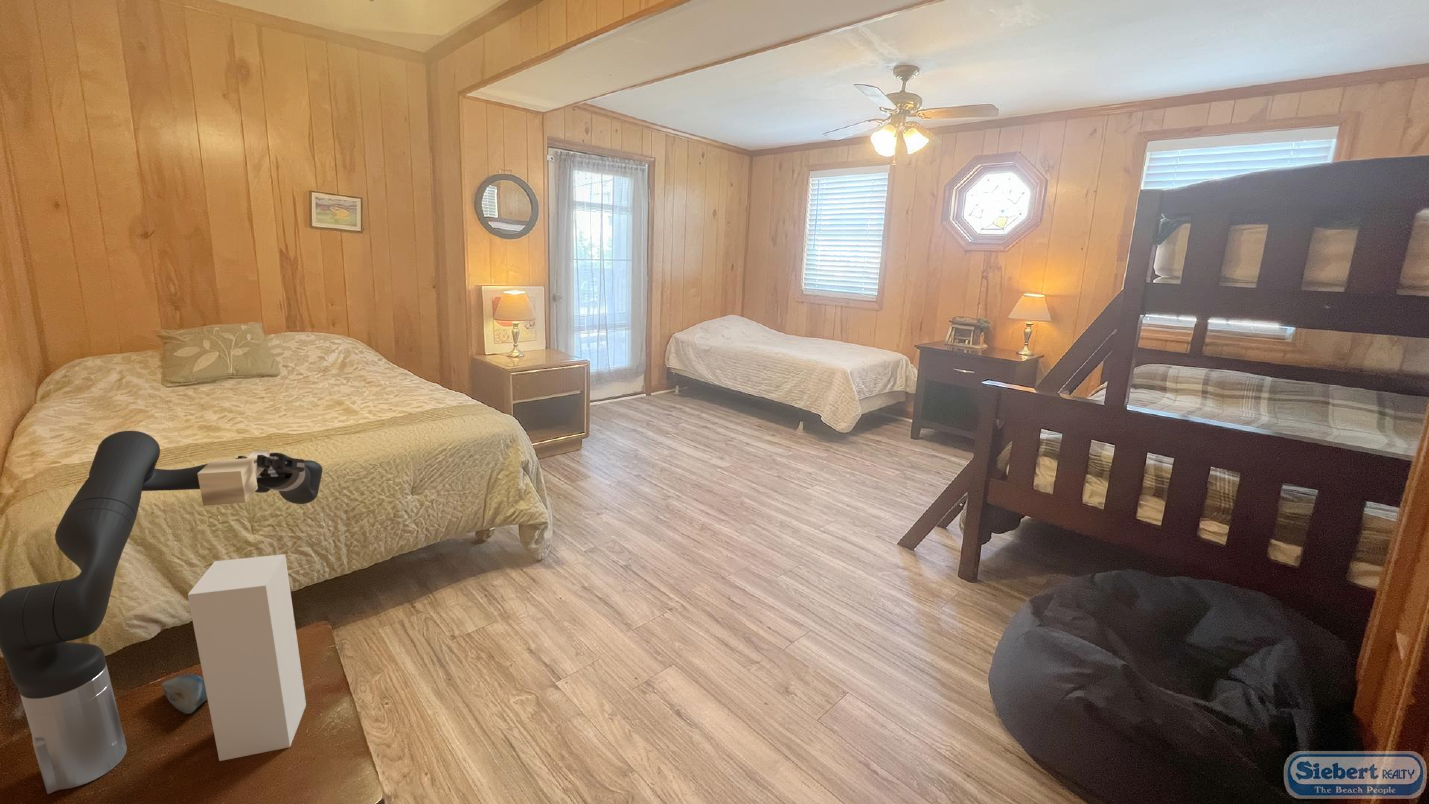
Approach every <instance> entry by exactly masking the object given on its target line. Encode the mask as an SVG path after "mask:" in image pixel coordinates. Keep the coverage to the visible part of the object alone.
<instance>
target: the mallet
mask: <svg viewBox="0 0 1429 804" xmlns="http://www.w3.org/2000/svg"><path fill="white" fill-rule="evenodd" d="M270 453H271V452H270V450H269V449H262V450H261V449H260V450H259V449H258V450H253V451H252V452H251V453H250V454H249V455H248V456H247V457H248V458H245V459H236V458H230V459H229V458H228V459H227V458H225V459H212V460H211V461H210V462H208V463H209V464H208V463H206V464H207V465H206V466H205V467H204V468H203V469H202V470H201V471H200V472H199V473H197V474H198V480H199V485H200V489H199V490H200V494H201V495H200V497H201V500H202V505H203V507H205V506H206V507H207V506H219V505H221V506H222V505H231V504H232V505H234V504H245V503H247V502H248V501H249V500H250V498H252V496H253V494H254V493H256V492H255V491H256V490H257V489H258V486H257V480H256V477H257V476H258V475H259V474H260V473H261V472H262V471H263V470H264V468H261V467H259V466H257V455H264V456H266V457H270Z"/></svg>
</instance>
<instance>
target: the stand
mask: <svg viewBox="0 0 1429 804" xmlns="http://www.w3.org/2000/svg"><path fill="white" fill-rule="evenodd" d="M211 564H212V565H211V566H210V567H209V568H208V569H207V570H206V571H205V572H204V574H203V575H202V576H201V578H200V579H199V580H198V581H197V582H196V584H195V585H194V586H193V587H192V588H191V590H190V591H189V592H188V594H187V599H188V603H189V609H190V614H191V619H192V624H193V629H194V635H195V640H196V645H197V651H198V657H199V661H200V667H201V672H202V678H203V679H204V683H205V688H206V694H207V704H208V708H209V713H210V714H209V715H210V719H211V724H212V730H213V734H214V740H215V745H216V750H217V755H218V761H219V762H221V761H226V760H233V759H236V758H237V759H238V758H242V757H247V756H252V755H257V754H262V753H266V752H272V751H278V750H283V749H287V748H291V746H292V742H293V741H294V738H295V735H296V733H297V730H298V728H299V725H300V723H301V720H302V717H303V715H304V711H305V709H306V707H307V701H306V695H305V687H304V680H303V679H304V678H303V672H302V666H301V665H302V664H301V659H300V652H299V651H300V650H299V644H298V643H299V642H298V636H297V629H296V621H295V615H294V607H293V602H292V601H293V600H292V592H291V585H290V578H289V572H288V564H287V556H286V554H285V553H284V554H273V555H272V554H271V555H264V556H254V557H245V558H244V557H243V558H242V557H241V558H234V559H225V560H224V559H223V560H222V559H221V560H215V561H214V562H213V563H211Z"/></svg>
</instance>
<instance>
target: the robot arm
mask: <svg viewBox="0 0 1429 804" xmlns="http://www.w3.org/2000/svg"><path fill="white" fill-rule="evenodd" d="M269 453H270V457H266V456H264V455H257V466H259V467H261V468H264V470H263V471H262V472H261V473H260V474H259V475H258V476H257V477H256V480H257V486H258V489H257V490H256V491H255V492H254V493H258V494H259V493H260V494H261V493H264V494H265V493H267V492H268V493H269V492H270V491H271V490H273V491H276V492H278V493H279V494H280V496H281V497H282V498H283V499H284V500H285V501H287V502H289V503H292V504H296V505H305V504H309V503H312V502H313V501H314V500H316V499H317V497H318V494H319V490H320V487H321V486H320V485H321V481H322V480H321V479H322V476H323V471H324V470H323V469H324V468H323V466H322V465H321V464H320V463H319V462H318V461H315V460H310V459H306V460H305V459H303V458H295V457H291V456H289V455H287V454H284V453H283V452H282V453H281V452H269ZM160 455H161V449H160V445H159V443H158V441H157V440H156V439H155V437H153V436H152V435H151V434H150V435H149V434H147V433H146V432H143V431H138V430H122V431H117V432H115V433H112V434H109V435H108V436H106V437H105V438H104V439H102V440H101V442H100V443H99V445H98V446H97V448H96V451H95V455H94V458H93V459H92V463H91V465H90V469H89V472H88V477H87V479H85V481H84V482H83V484H82V485H81V487H80V488H79V490H78V492H77V493H76V494H75V496H74V497H73V499H72V501H70V503H69V505H68V507H67V509H66V510H65V512H64V514H63V516H62V517H61V520H60V521H59V522H58V525H57V527H56V529H55V535H54V540H55V543H56V545H57V548H58V549H59V550H60V552H61V553H63V555H64V556H65V557H66V558H67V559H69V560H70V561H71V562H72V563H73V564H75V565H76V566H77V567H78V569H79V570H80V573H78V575H77V576H75V577H72V578H69V579H63V580H57V581H51V582H45V583H39V584H32V585H27V586H21V587H16V588H13V589H11V590H8V591H6V592H5V593H3V594H2V595H1V596H0V651H1V654H2V656H3V659H4V661H5V663H6V667H7V669H8V672H9V674H10V678H11V680H12V682H13V683H14V685H15V686H16V687H17V688H18V693H19V695H20V698H21V702H22V705H23V708H24V709H23V710H24V713H25V716H26V719H27V723H28V727H29V730H30V733H31V738H32V745H33V746H32V747H33V750H34V753H35V754H34V755H35V758H36V761H37V764H38V767H39V771H40V774H41V777H42V781H43V784H44V788H45V790H46V794H48V795H49V794H52V793H54V792H57V791H60V790H67V789H69V790H70V789H73V788H76V787H80V786H82V785H86V784H88V783H90V782H92V781H95V780H97V779H98V778H100V777H102V776H104V775H106V774H108V772H110V771H112V770H113V769H114V768H115V767H116V766H117V765H118V764H120V763H121V762H122V760H124V758H125V756H126V753H127V750H128V748H127V743H126V738H125V734H124V730H123V727H122V722H121V719H120V714H119V710H118V706H117V702H116V698H115V694H114V690H113V685H112V682H111V677H110V673H109V669H108V665H107V661H106V660H107V659H106V656H105V653H104V651H103V649H102V648H101V646H98V645H96V644H92V643H85V642H84V643H83V642H70V641H75V640H79V639H82V638H86V637H88V636H90V635H92V634H93V633H95V632H96V631H97V630H98V629H99V627H101V625H102V623H103V622H104V620H105V616H106V614H107V613H106V612H107V609H108V606H109V602H110V598H111V593H112V589H113V586H114V585H113V584H114V579H115V576H116V571H117V569H118V565H119V562H120V560H121V557H122V553H123V551H124V549H125V547H126V545H127V542H128V540H129V538H130V536H131V534H132V530H133V529H134V525H135V522H136V520H137V515H138V511H139V508H140V505H141V504H140V503H141V498H142V492H155V491H156V492H157V491H158V492H159V491H161V492H162V491H184V490H186V491H187V490H188V491H189V490H190V491H191V490H200V485H199V480H198V474H197V473H199V472H200V471H201V470H202V469H203V468H204V467H205V466H206V465H207V464H209V463H210V462H208V463H205V464H201V465H196V466H195V465H194V466H192V467H186V468H178V469H177V468H176V469H165V468H164V469H163V468H156V465H157V464H158V460H159V459H160ZM245 458H248V456H245V455H238V456H237V457H235V459H245Z"/></svg>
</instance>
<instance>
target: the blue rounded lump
mask: <svg viewBox="0 0 1429 804" xmlns="http://www.w3.org/2000/svg"><path fill="white" fill-rule="evenodd" d="M161 688H162V691H163V693H164V696H165V697H166V698H167V700H168V702H169V703H170V704H171V705H172V706H173V707H174V708H175V709H177V710H178V711H179V712H181V713H182V714H186V715H187V714H189V715H190V714H192V713H193V712H195V711H196V710H197V709H198V708H199V707H200V706H201V705H202V704H204V702H206V701H208V699H207V694H206V688H205V683H204V678H203V676H200V675H197V674H194V673H190V674H189V673H188V674H187V673H186V674H183V675H178V676H176V677H173V678H169V679H167V680H165V681H163V682H161Z"/></svg>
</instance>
